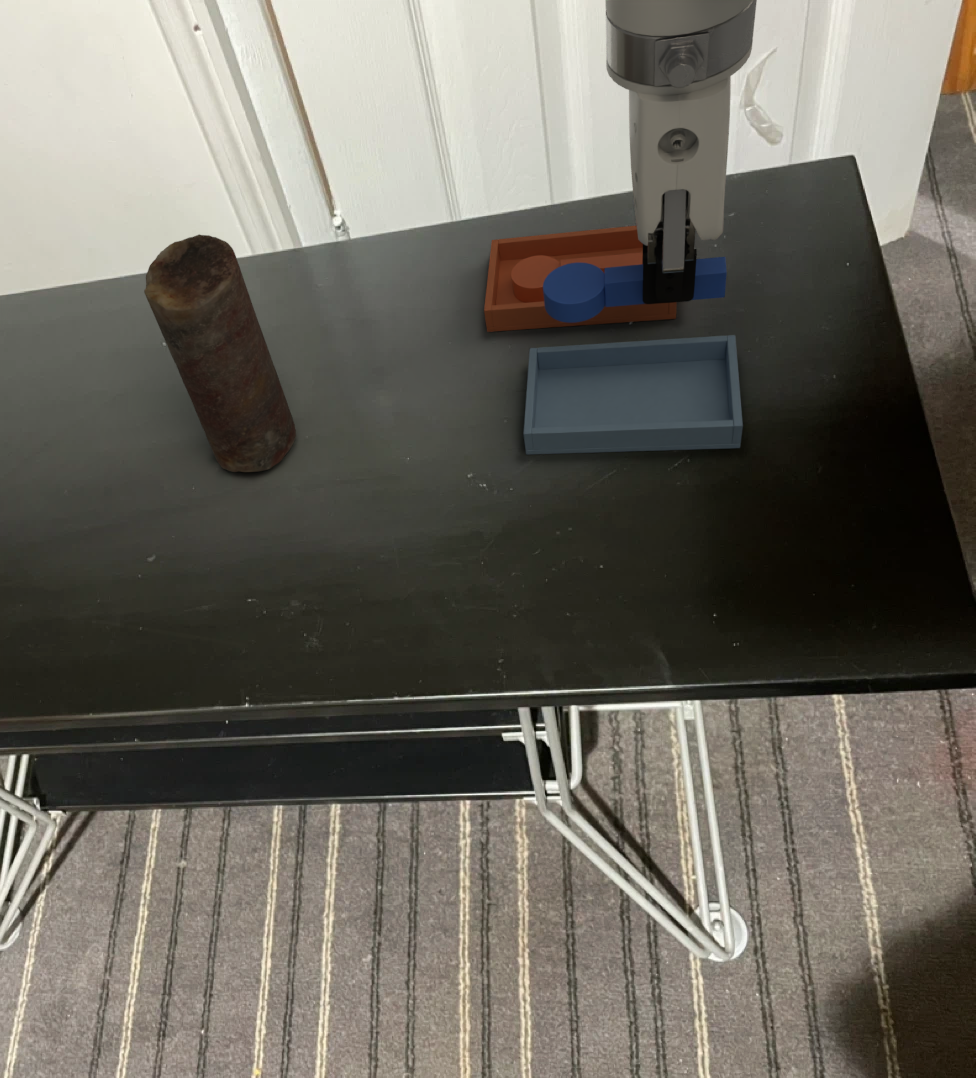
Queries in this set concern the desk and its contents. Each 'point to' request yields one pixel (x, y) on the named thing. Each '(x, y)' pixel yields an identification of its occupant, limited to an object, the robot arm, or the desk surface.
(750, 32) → the robot arm
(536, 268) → the terracotta spoon
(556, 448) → the blue tray
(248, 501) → the desk surface
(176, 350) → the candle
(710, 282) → the blue spoon
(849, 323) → the desk surface
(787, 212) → the desk surface
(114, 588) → the desk surface
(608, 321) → the terracotta tray
